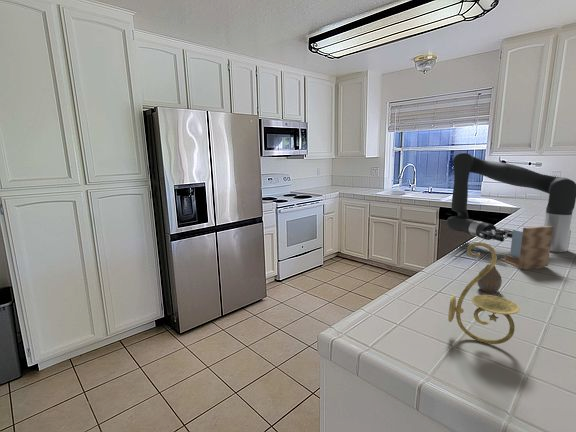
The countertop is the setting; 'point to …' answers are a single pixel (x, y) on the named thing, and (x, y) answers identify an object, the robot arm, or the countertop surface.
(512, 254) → the light blue rectangular block
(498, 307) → the wall sconce
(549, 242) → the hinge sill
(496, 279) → the vase
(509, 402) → the countertop surface
